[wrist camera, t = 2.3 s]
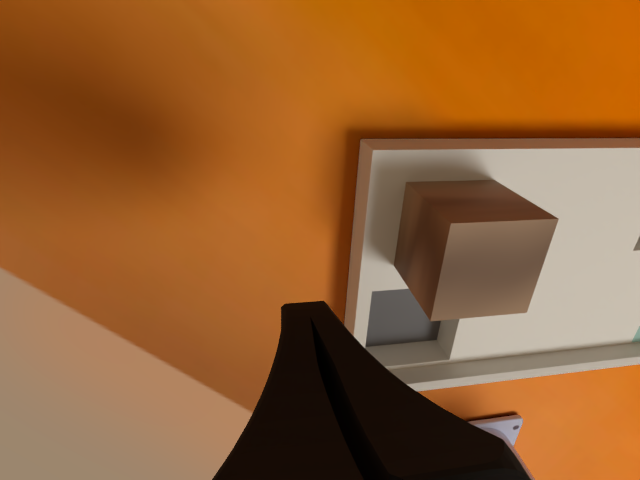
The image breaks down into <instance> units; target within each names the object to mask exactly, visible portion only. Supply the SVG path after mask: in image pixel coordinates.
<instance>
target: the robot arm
mask: <svg viewBox="0 0 640 480" xmlns="http://www.w3.org/2000/svg"><path fill="white" fill-rule="evenodd" d="M522 423H523V419H522V418H521V416H520V415H512V416H505V417H498V418H491V419H483V420H476V421H469V422H466V421H464V420H462V419H461V418H459V417H457V416H455V415H454V414H452V413H450V412H448V411H446V410H445V409H443V408H441V407H440V406H438V405H436V404H435V403H433V402H432V401H430V400H429V399H427V398H426V397H424V396H423V395H421V394H420V393H418V392H417V391H415V390H414V389H412V388H411V387H409V386H408V385H407V384H405V383H404V382H403V381H401V380H400V379H399V378H398V377H396V376H395V375H394V374H393V373H391V372H390V371H389V370H388V369H387V368H385V367H384V366H383V365H382V364H381V363H380V362H379V361H378V360H377V359H376V358H375V357H374V356H372V355H371V354H370V353H369V352H368V351H367V350H366V349H365V348H364V347H363V346H362V345H361V344H360V342H359V341H358V340H357V339H356V338H355V337H354V336H353V335H352V334H351V333H350V332H349V331H348V329H347V328H346V327H345V326H344V325H343V324H342V322H341V321H340V320H339V319H338V318H337V316H336V315H335V314H334V313H333V311H332V310H331V309H330V307H329V306H328V305H327V304H326V303H325V302H324V301H316V302H303V303H290V304H284V305H283V306H282V307H281V334H280V339H279V343H278V348H277V352H276V355H275V359H274V362H273V365H272V368H271V371H270V374H269V377H268V380H267V382H266V385H265V387H264V390H263V392H262V395H261V397H260V399H259V401H258V403H257V406H256V408H255V410H254V412H253V414H252V416H251V418H250V420H249V422H248V424H247V426H246V427H245V429H244V431H243V432H242V434H241V436H240V438H239V439H238V441H237V443H236V445H235V446H234V448H233V450H232V451H231V453H230V454H229V456H228V457H227V459H226V460H225V462H224V463H223V465H222V466H221V468H220V469H219V470H218V472H217V473H216V475H215V476H214V478H213V479H212V480H535V479H534V477H533V476H532V474H531V473H530V471H529V470H528V468H527V467H526V465H525V464H524V462H523V461H522V459H521V458H520V456H519V454H518V453H517V451H516V450H515V448H514V447H513V446H514V443H515V441H516V438H517V436H518V433H519V431H520V428H521V426H522Z"/></svg>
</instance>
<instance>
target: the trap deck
mask: <svg viewBox="0 0 640 480" xmlns="http://www.w3.org/2000/svg"><path fill="white" fill-rule="evenodd" d="M468 180H495V181H497V182H499V183H500V184H502V185H504V186H505V187H507V188H509V189H510V190H512V191H514V192H515V193H517V194H519V195H520V196H522V197H524V198H525V199H527V200H529V201H530V202H532V203H533V204H535V205H537V206H538V207H540V208H542V209H543V210H545V211H547V212H548V213H550V214H552V215H553V216H555V217H557V218H558V219H559V220H558V223H557V226H556V229H555V232H554V234H553V237H552V240H551V243H550V246H549V249H548V252H547V255H546V258H545V261H544V264H543V267H542V270H541V273H540V275H539V278H538V281H537V284H536V287H535V290H534V293H533V296H532V299H531V302H530V305H529V308H528V311H527V313H518V314H507V315H496V316H485V317H474V318H463V319H452V320H441V321H430V320H429V318H428V317H427V315H426V314H425V312H424V311H423V309H422V308H421V306H420V305H419V303H418V302H417V300H416V299H415V297H414V296H413V294H412V293H411V291H410V290H409V288H408V287H407V285H406V284H405V282H404V281H403V279H402V278H401V276H400V274H399V273H398V271H397V270H396V268H395V267H394V260H395V254H396V247H397V240H398V233H399V226H400V219H401V212H402V206H403V199H404V192H405V185H406V182H426V181H468ZM344 326H345V327H346V328H347V329H348V331H349V332H350V333H351V334H352V335H353V336H354V337H355V338H356V339H357V340H358V341H359V342H360V344H361V345H362V346H363V347H364V348H365V349H366V350H367V351H368V352H369V353H370V354H371V355H372V356H374V357H375V358H376V359H377V360H378V361H379V362H380V363H381V364H382V365H383V366H384V367H385V368H387V369H388V370H389V371H390V372H391V373H393V374H394V375H395V376H396V377H398V378H399V379H400V380H401V381H403V382H404V383H405V384H407V385H408V386H409V387H411V388H412V389H414V390H415V391H425V390H433V389H441V388H449V387H457V386H466V385H474V384H482V383H490V382H498V381H506V380H515V379H523V378H531V377H539V376H547V375H555V374H564V373H572V372H580V371H588V370H596V369H604V368H613V367H621V366H629V365H637V364H640V138H465V139H360V150H359V162H358V173H357V184H356V196H355V207H354V219H353V230H352V241H351V253H350V264H349V276H348V287H347V299H346V310H345V321H344Z"/></svg>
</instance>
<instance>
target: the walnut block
mask: <svg viewBox="0 0 640 480" xmlns="http://www.w3.org/2000/svg"><path fill="white" fill-rule="evenodd" d="M558 220H559V219H558V218H557V217H555V216H553V215H552V214H550V213H548V212H547V211H545V210H543V209H542V208H540V207H538V206H537V205H535V204H533V203H532V202H530V201H529V200H527V199H525V198H524V197H522V196H520V195H519V194H517V193H515V192H514V191H512V190H510V189H509V188H507V187H505V186H504V185H502V184H500V183H499V182H497V181H495V180H468V181H426V182H406V185H405V192H404V199H403V206H402V212H401V219H400V226H399V233H398V240H397V247H396V254H395V260H394V267H395V268H396V270H397V271H398V273H399V274H400V276H401V278H402V279H403V281H404V282H405V284H406V285H407V287H408V288H409V290H410V291H411V293H412V294H413V296H414V297H415V299H416V300H417V302H418V303H419V305H420V306H421V308H422V309H423V311H424V312H425V314H426V315H427V317H428V318H429V320H430V321H441V320H452V319H463V318H474V317H485V316H496V315H507V314H518V313H527V311H528V308H529V305H530V302H531V299H532V296H533V293H534V290H535V287H536V284H537V281H538V278H539V275H540V273H541V270H542V267H543V264H544V261H545V258H546V255H547V252H548V249H549V246H550V243H551V240H552V237H553V234H554V232H555V229H556V226H557V223H558Z"/></svg>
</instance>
